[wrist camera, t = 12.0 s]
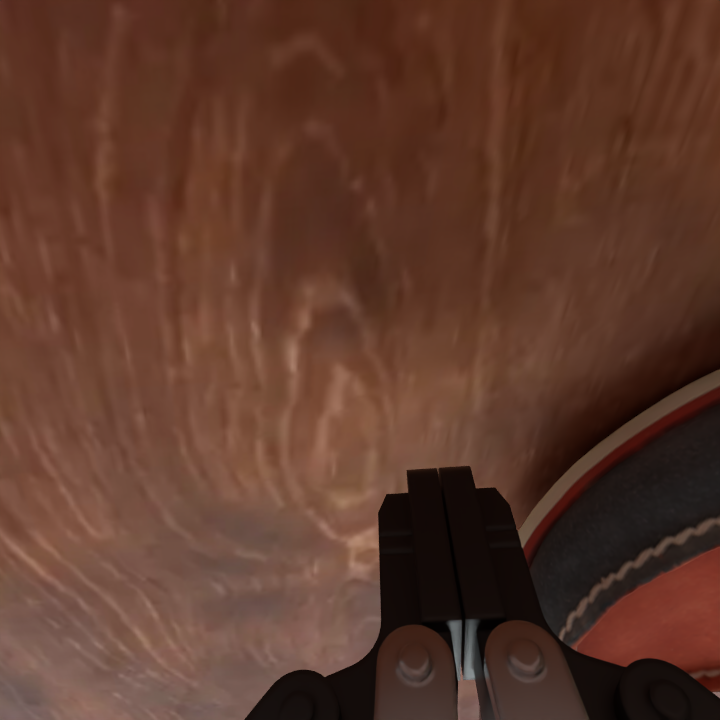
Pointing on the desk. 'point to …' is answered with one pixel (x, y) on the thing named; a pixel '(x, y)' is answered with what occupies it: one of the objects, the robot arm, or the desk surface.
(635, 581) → the boat shoe
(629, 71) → the desk surface
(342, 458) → the desk surface
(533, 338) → the desk surface
